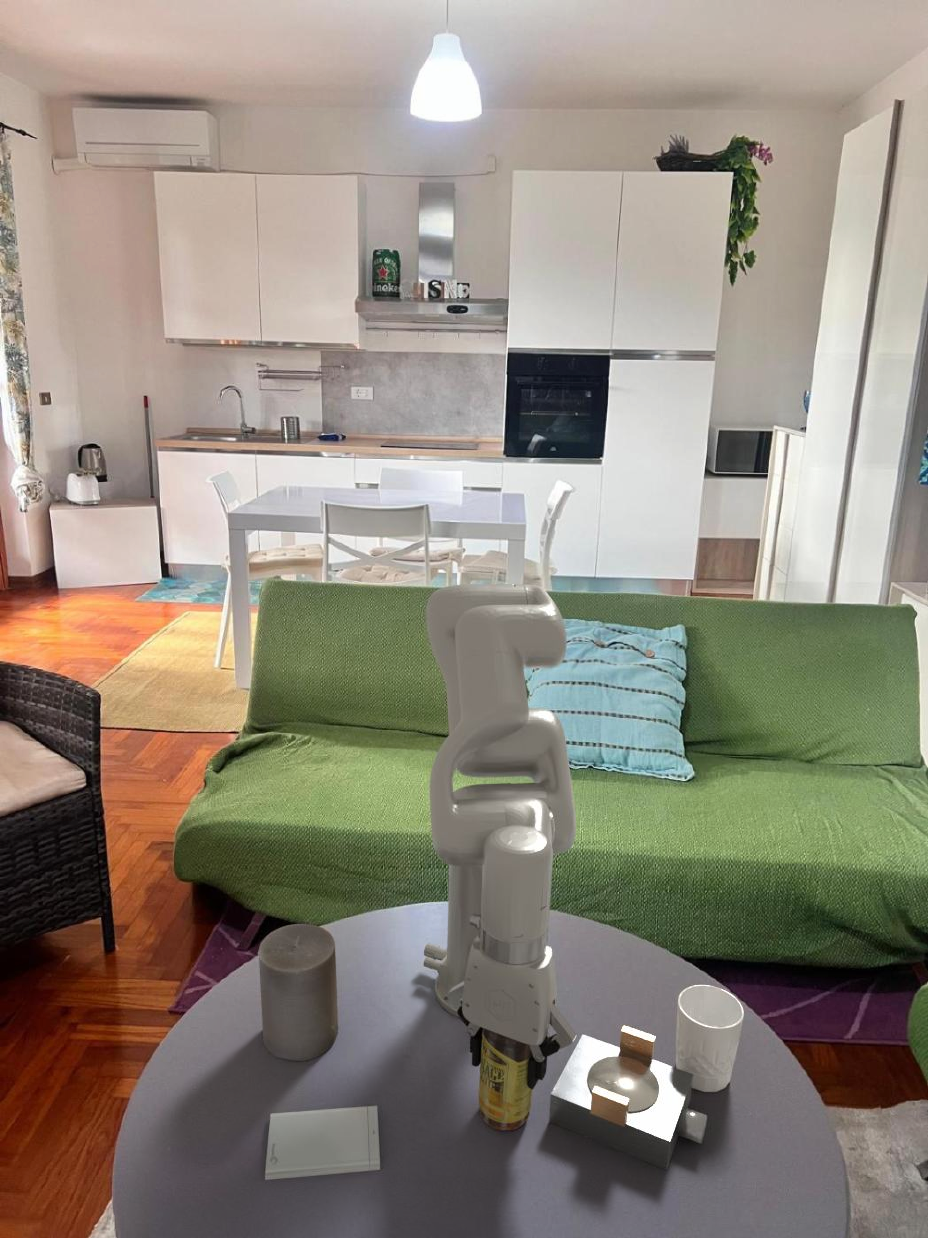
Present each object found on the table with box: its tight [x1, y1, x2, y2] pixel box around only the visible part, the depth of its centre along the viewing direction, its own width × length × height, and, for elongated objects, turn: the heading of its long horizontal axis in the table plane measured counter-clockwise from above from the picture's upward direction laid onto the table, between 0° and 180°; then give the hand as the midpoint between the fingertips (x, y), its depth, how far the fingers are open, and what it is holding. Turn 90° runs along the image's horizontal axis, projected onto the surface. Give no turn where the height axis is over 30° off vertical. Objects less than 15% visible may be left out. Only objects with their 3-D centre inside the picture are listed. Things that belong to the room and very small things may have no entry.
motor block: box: [548, 1025, 708, 1171], centre depth 107 cm, size 17×12×7 cm
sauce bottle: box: [478, 1028, 533, 1132], centre depth 105 cm, size 7×6×20 cm
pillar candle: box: [257, 923, 339, 1062], centre depth 117 cm, size 10×10×15 cm
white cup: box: [675, 984, 745, 1093], centre depth 113 cm, size 8×8×10 cm
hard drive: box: [264, 1105, 381, 1181], centre depth 103 cm, size 2×8×12 cm
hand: (507, 1068), depth 106 cm, fingers closed on sauce bottle, 6 cm apart
